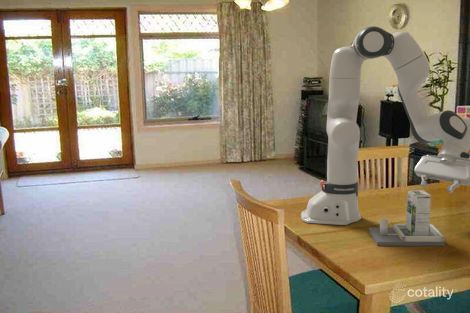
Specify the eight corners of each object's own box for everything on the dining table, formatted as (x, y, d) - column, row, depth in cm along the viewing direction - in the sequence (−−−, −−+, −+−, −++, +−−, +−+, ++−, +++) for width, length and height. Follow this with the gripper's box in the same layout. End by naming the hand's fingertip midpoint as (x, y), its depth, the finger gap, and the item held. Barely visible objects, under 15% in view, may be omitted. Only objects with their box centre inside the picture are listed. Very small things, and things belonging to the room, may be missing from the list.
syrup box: (405, 231, 158) (406, 190, 156) (422, 231, 158) (424, 189, 156) (411, 237, 153) (413, 194, 150) (429, 237, 153) (431, 194, 150)
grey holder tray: (377, 245, 150) (377, 227, 149) (368, 230, 164) (369, 213, 163) (444, 245, 148) (445, 227, 147) (430, 230, 162) (431, 213, 161)
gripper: (420, 148, 172) (405, 178, 168) (478, 156, 156) (462, 189, 152) (426, 159, 176) (410, 188, 171) (482, 167, 160) (467, 200, 156)
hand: (435, 189), depth 162 cm, fingers open, 8 cm apart
